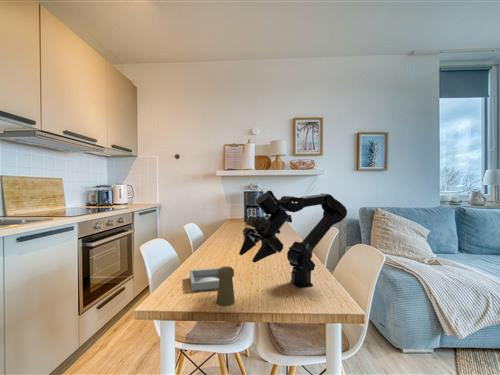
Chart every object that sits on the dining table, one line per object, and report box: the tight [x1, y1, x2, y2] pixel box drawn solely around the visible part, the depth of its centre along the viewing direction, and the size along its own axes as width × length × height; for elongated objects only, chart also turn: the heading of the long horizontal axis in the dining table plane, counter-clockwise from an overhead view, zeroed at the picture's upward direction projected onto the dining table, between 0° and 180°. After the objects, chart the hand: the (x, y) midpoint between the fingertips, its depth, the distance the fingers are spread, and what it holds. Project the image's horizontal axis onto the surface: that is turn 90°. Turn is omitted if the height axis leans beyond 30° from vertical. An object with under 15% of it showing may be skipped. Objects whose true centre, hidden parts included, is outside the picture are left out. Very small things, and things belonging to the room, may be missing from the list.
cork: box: [215, 265, 236, 307], centre depth 80 cm, size 6×6×11 cm
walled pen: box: [189, 267, 221, 293], centre depth 95 cm, size 14×14×3 cm
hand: (246, 258), depth 83 cm, fingers open, 9 cm apart
